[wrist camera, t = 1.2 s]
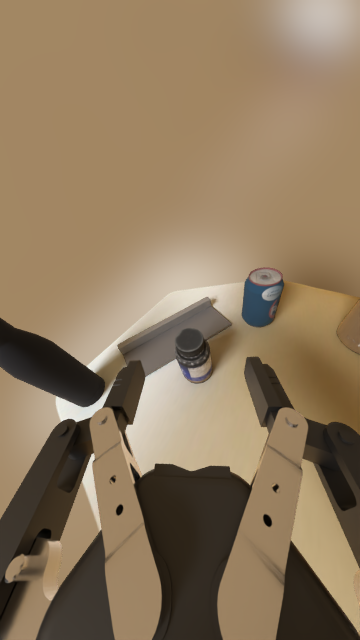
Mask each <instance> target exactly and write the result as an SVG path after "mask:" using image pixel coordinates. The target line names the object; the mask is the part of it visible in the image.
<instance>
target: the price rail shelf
mask: <svg viewBox="0 0 360 640" xmlns="http://www.w3.org/2000/svg"><path fill="white" fill-rule="evenodd" d="M229 326H231V323H230V322H229V321H228V320H227V319H225V318H224V317H223V316H222V315H221V314H220V313H219V312H217V311H216V310H215V309H214V308H213V307H212V306H211V301H210V299H209V298H208V297H205V298H204V299H202V300H200V301H198V302H196V303H194V304H192V305H191V306H189V307H187V308H185V309H183V310H181V311H179V312H178V313H176V314H174V315H172V316H170V317H168V318H166V319H165V320H163V321H161V322H159V323H157V324H155V325H153V326H152V327H150V328H148V329H146V330H144V331H142V332H140V333H138V334H137V335H135V336H133V337H131V338H129V339H127V340H125V341H124V342H122V343H120V344H118V349H119V350H120V351H121V352H122V354H123V355H124V358H125V361H126V364H127V366H128V363H129V361H130V360H140V361H141V363H142V366H143V369H144V372H145V377H146V376H148V375H149V374H151V373H153V372H154V371H156V370H158V369H159V368H161V367H163V366H164V365H166V364H168V363H169V362H171V361H173V360H174V359H176V356H175V347H176V346H175V337H176V335H177V334H178V333H179V332H180V331H181V330H183V329H186V328H195V329H198V330H199V331H200V332H201V333H202V334H203V337H204V339H205V340H208V339H209V338H211V337H213V336H214V335H216V334H218V333H219V332H221V331H223V330H224V329H226V328H228V327H229Z"/></svg>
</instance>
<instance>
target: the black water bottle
mask: <svg viewBox="0 0 360 640" xmlns="http://www.w3.org/2000/svg"><path fill="white" fill-rule="evenodd" d="M0 367H1V368H3V369H4V370H5V371H6V372H8V373H9V374H11V375H12V376H13V377H15V378H17V379H19V380H22V381H24V382H26V383H28V384H31V385H33V386H35V387H37V388H40V389H42V390H44V391H46V392H49V393H51V394H53V395H56V396H58V397H60V398H62V399H65V400H67V401H69V402H72V403H74V404H76V405H78V406H81V407H88V406H90V405H92V404H94V403H95V402H96V401H97V400H98V399H99V398H100V397H101V395H102V393H103V391H104V387H105V382H104V380H103V379H102V378H101V377H99V376H98V375H97V374H95V373H94V372H93V371H91V370H90V369H89V368H87V367H86V366H85V365H83V364H81V363H80V362H79V361H78V360H76V359H75V358H74V357H72V356H71V355H70V354H68V353H67V352H66V351H64V350H63V349H61V348H60V347H59V346H57V345H56V344H55V343H53V342H52V341H50V340H48V339H46V338H43V337H41V336H39V335H36V334H33V333H30V332H27V331H23V330H20V329H17V328H14V327H13V326H12V325H10V324H8V323H7V322H6V321H4V320H3V319H1V318H0Z"/></svg>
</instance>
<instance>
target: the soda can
mask: <svg viewBox="0 0 360 640" xmlns="http://www.w3.org/2000/svg"><path fill="white" fill-rule="evenodd" d="M283 287H284V282H283V279H282V273H281V272H280V271H278V270H276V269H273V268H259V269H255V270H253V271H252V272H251V273H250V274H249V277H248V278H247V279H246V281H245V287H244V297H243V307H242V317H243V319H244V320H245V322H246V323H247V324H249V325H251V326H253V327H263V326H266V325H268V324H270V323H271V322H272V321H273V319H274V316H275V313H276V310H277V306H278V303H279V300H280V297H281V293H282V290H283Z"/></svg>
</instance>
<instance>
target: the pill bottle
mask: <svg viewBox="0 0 360 640" xmlns="http://www.w3.org/2000/svg"><path fill="white" fill-rule="evenodd" d="M175 346H176V347H175V356H176V359H177V361H178V363H179V365H180V368H181V370H182V372H183V374H184V376H185V378H186V379H187V380H189V381H190V382H192V383H196V384H198V383H203V382H205V381H206V380H208V379H209V377H210V376H211V374H212V362H211V355H210V347H209V344H208V342H207V341H206V340H205V339H204V337H203V334H202V333H201V332H200V331H199V330H198V329H195V328H186V329H183V330H181V331H180V332H179V333H178V334H177V335H176V337H175Z"/></svg>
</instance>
